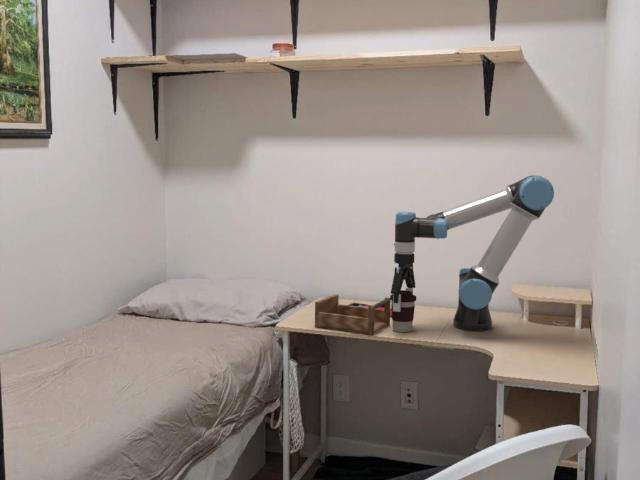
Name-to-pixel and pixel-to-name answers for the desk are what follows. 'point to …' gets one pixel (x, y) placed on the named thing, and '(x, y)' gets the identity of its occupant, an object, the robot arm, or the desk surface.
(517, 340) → the desk surface
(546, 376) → the desk surface
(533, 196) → the robot arm
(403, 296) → the coffee cup
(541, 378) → the desk surface
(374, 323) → the wooden crate
